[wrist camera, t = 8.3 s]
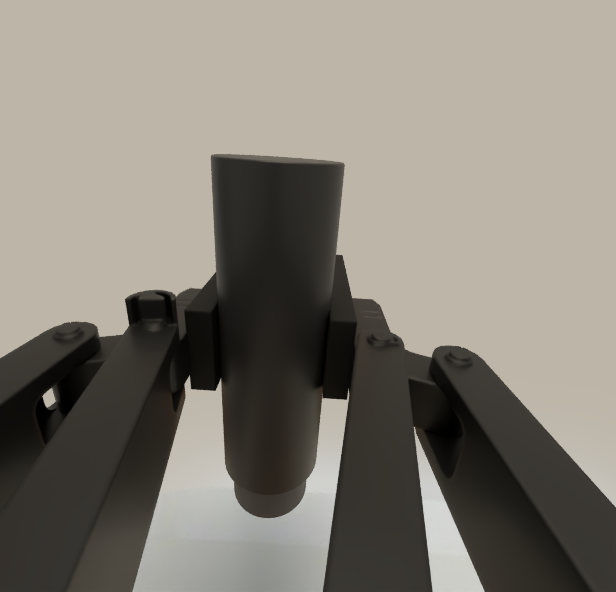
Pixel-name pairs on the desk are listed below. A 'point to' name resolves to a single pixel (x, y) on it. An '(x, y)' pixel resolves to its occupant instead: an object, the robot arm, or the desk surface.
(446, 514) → the desk surface
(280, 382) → the dot marker
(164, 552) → the desk surface
